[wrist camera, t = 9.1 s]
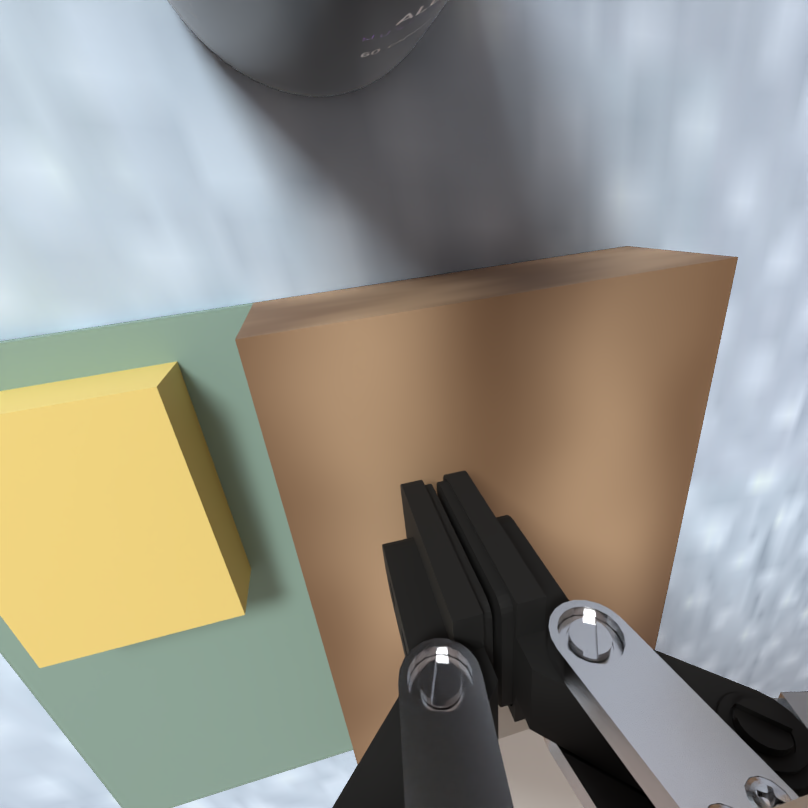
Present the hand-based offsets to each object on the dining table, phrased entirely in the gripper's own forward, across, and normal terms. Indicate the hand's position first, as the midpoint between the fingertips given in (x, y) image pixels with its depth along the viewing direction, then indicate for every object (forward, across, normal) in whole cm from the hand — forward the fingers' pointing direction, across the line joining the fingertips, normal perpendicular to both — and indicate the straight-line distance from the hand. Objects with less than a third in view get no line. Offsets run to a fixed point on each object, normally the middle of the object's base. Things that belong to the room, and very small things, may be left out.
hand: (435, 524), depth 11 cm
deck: (+5, -2, +6) cm, 8 cm away
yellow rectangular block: (+2, +9, 0) cm, 9 cm away
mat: (+5, +9, +6) cm, 11 cm away
